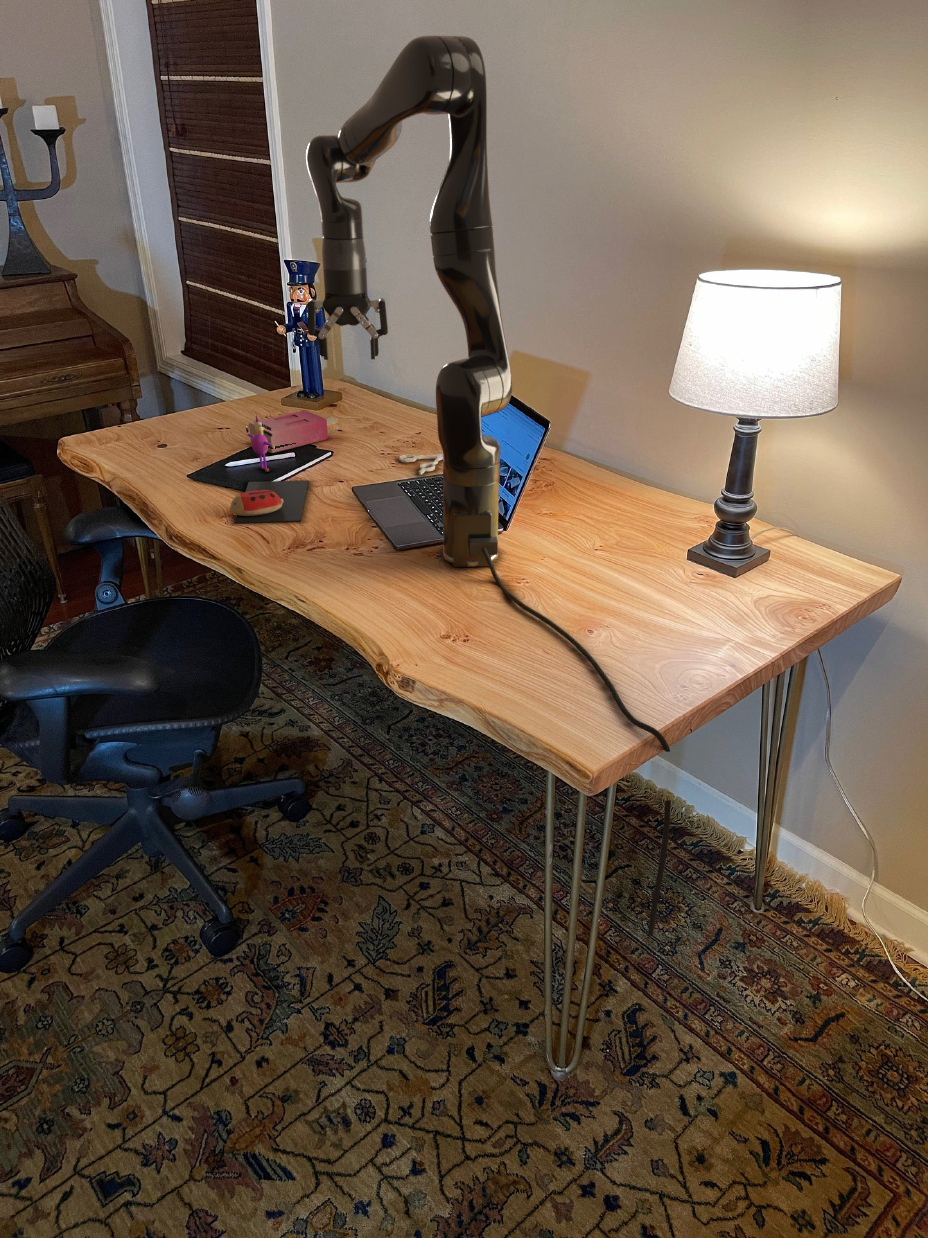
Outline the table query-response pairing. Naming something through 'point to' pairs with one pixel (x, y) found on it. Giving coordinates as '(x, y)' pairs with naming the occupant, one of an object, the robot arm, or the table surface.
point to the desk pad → (291, 505)
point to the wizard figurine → (260, 441)
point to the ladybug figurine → (255, 503)
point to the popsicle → (295, 429)
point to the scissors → (414, 457)
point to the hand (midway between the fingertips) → (349, 358)
